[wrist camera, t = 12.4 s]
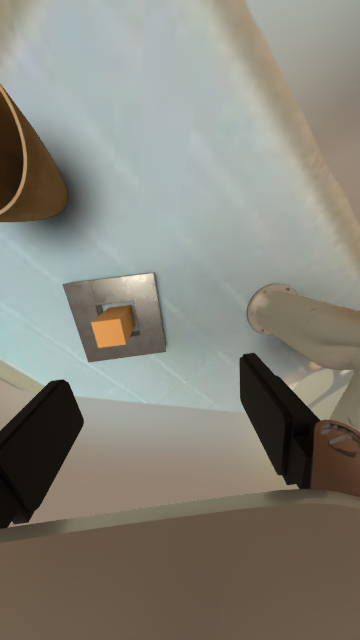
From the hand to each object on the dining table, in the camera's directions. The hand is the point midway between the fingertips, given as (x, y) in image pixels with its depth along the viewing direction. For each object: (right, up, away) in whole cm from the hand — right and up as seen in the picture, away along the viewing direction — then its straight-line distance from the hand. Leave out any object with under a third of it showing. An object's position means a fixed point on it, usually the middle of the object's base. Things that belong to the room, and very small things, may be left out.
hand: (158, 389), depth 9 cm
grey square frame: (-12, +5, +31) cm, 33 cm away
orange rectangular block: (-12, +5, +31) cm, 33 cm away
